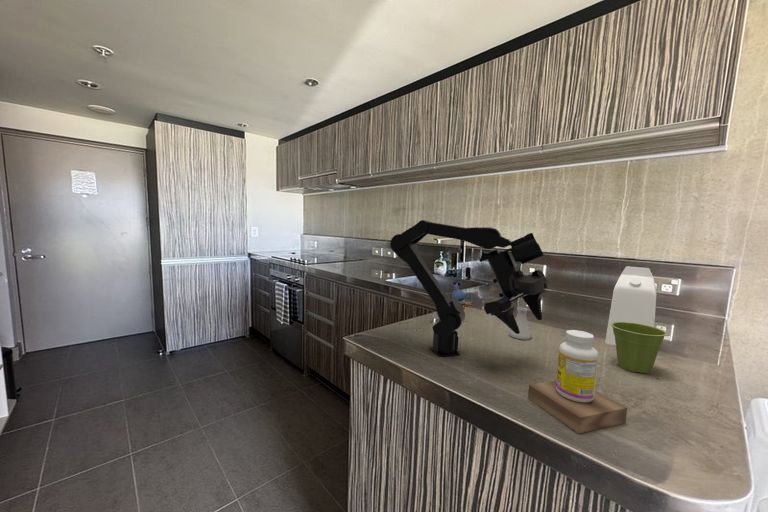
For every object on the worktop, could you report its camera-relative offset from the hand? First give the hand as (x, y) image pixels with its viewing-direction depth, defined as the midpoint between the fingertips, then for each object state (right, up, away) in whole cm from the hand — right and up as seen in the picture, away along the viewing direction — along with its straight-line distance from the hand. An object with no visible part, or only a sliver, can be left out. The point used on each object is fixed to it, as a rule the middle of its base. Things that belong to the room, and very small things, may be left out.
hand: (529, 326), depth 80 cm
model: (0, -6, +71) cm, 72 cm away
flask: (+9, -10, +26) cm, 29 cm away
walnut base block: (+1, -13, -18) cm, 22 cm away
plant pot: (+30, -12, +4) cm, 33 cm away
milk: (+45, -11, +24) cm, 52 cm away
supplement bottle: (+1, -10, -18) cm, 20 cm away
